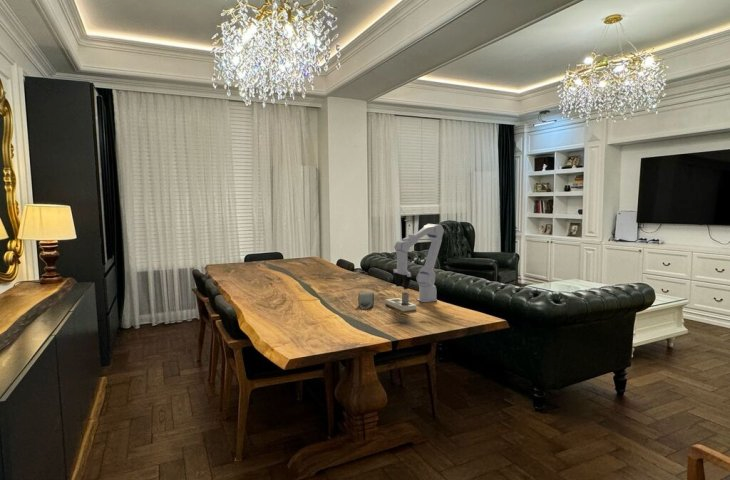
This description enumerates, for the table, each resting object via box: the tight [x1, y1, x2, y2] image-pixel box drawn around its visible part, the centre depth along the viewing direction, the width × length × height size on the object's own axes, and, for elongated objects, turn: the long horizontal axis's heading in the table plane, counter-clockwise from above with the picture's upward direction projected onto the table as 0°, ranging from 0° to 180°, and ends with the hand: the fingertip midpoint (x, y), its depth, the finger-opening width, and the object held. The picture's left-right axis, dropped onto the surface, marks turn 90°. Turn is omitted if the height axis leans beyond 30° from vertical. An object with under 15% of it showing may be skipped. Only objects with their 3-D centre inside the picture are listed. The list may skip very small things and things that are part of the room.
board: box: [385, 297, 417, 314], centre depth 226 cm, size 8×18×3 cm, turn 27°
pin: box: [401, 291, 410, 306], centre depth 222 cm, size 4×4×8 cm
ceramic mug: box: [357, 292, 375, 310], centre depth 228 cm, size 11×8×8 cm
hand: (401, 287), depth 230 cm, fingers open, 7 cm apart
